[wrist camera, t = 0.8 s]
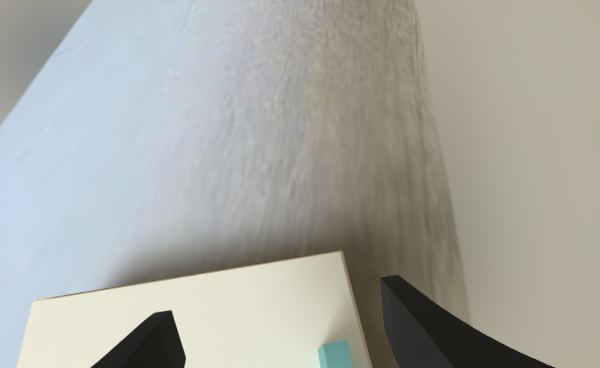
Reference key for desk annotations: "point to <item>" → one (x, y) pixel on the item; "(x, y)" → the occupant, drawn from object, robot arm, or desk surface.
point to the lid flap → (212, 319)
